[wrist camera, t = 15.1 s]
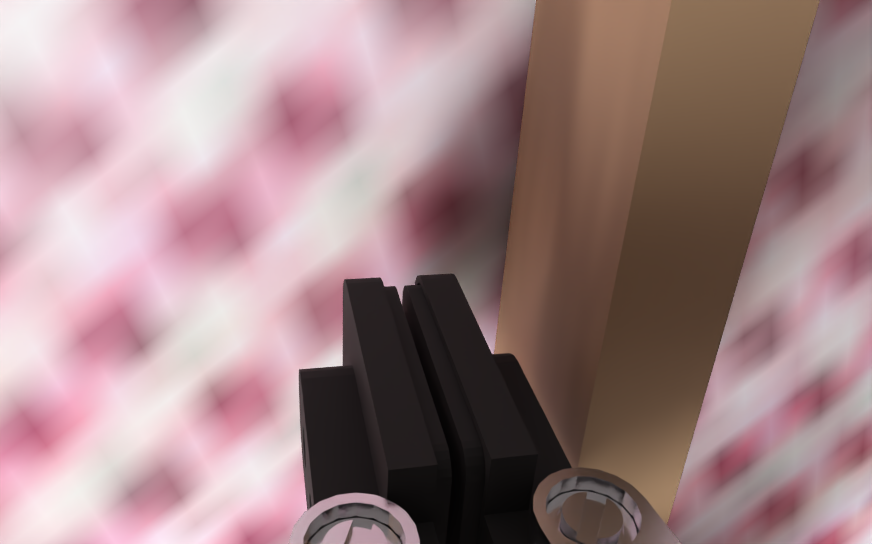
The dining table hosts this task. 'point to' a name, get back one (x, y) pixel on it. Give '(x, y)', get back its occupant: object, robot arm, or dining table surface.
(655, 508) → the tan wooden plank
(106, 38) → the dining table surface
